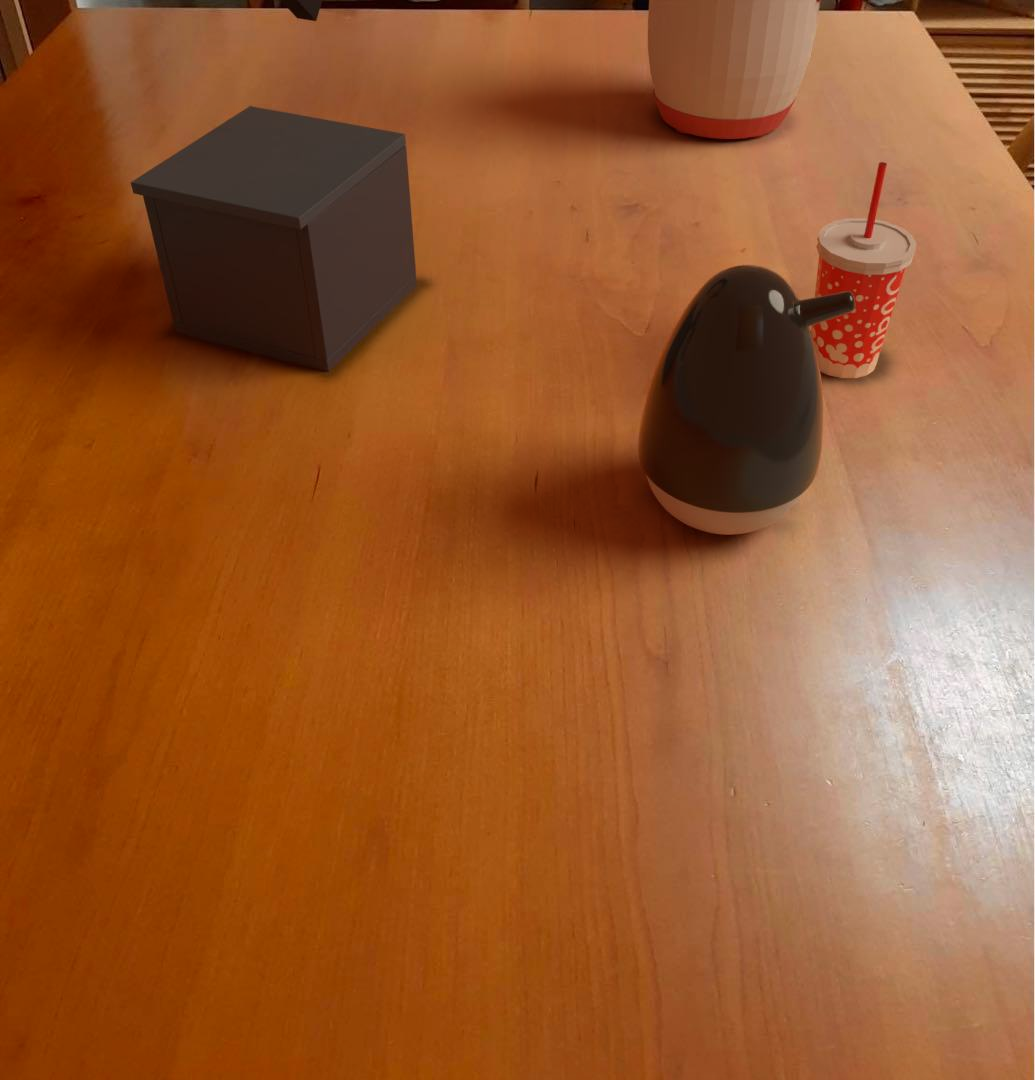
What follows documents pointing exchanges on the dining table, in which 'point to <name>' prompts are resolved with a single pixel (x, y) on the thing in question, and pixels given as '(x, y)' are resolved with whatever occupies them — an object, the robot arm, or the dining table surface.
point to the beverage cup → (859, 287)
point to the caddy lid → (270, 166)
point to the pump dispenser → (737, 403)
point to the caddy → (290, 271)
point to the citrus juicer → (729, 62)
